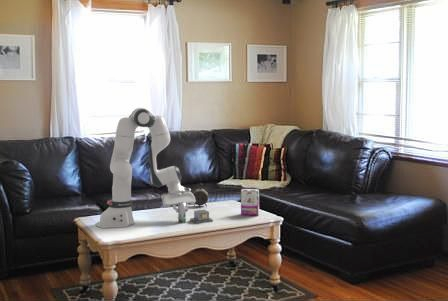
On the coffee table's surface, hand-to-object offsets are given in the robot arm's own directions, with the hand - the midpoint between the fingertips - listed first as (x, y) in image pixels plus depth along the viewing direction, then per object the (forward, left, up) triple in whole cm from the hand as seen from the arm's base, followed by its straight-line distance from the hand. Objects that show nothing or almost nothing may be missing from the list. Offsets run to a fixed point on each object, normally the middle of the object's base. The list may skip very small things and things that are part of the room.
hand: (182, 211), depth 333 cm
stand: (+12, -1, -7) cm, 14 cm away
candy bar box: (+46, 0, -7) cm, 47 cm away
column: (0, +1, -7) cm, 7 cm away
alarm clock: (+27, +37, -7) cm, 46 cm away
